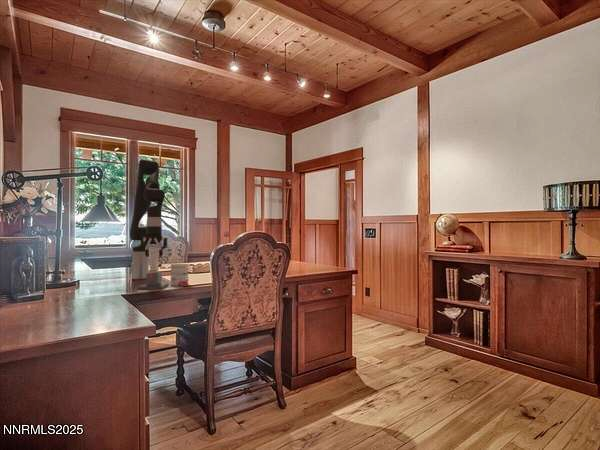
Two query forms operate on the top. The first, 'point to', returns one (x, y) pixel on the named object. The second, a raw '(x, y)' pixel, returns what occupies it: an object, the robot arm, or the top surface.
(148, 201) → the robot arm
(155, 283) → the jack base
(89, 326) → the top surface
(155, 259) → the column
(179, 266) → the ink box
